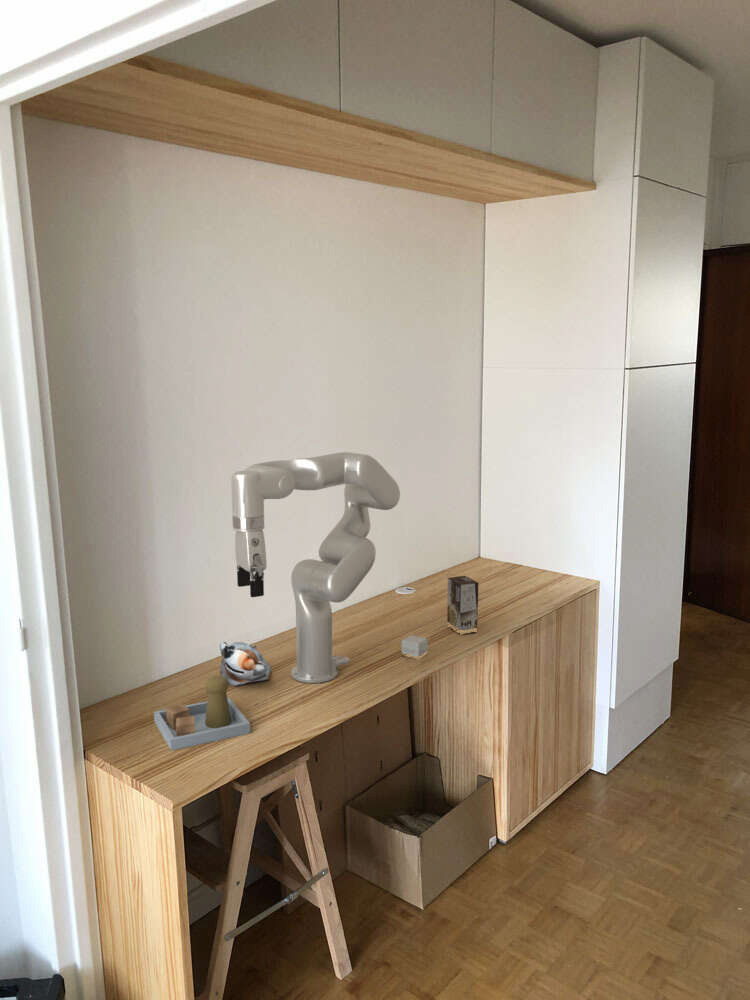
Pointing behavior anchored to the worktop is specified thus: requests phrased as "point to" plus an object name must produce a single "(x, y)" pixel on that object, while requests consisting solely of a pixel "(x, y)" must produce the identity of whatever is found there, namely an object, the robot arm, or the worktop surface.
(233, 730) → the tray
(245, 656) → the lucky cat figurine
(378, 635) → the worktop surface
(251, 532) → the robot arm
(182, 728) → the walnut block
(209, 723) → the cork
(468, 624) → the coffee box
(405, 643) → the small box
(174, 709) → the walnut block
